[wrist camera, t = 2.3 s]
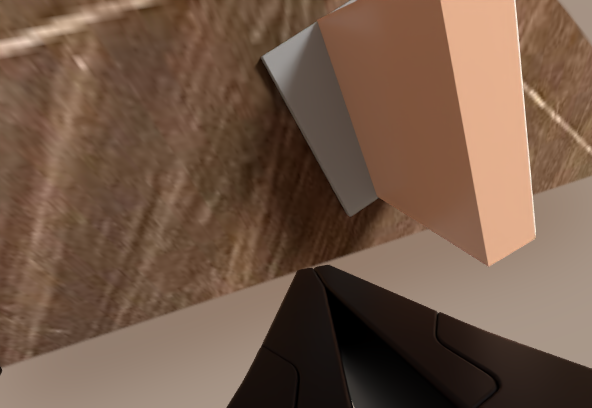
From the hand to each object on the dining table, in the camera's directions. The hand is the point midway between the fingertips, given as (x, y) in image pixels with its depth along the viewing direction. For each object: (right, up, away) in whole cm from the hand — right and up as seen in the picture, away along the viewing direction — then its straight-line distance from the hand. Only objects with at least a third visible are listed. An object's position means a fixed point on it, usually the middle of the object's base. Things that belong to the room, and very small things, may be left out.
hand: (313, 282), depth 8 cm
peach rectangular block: (+4, +7, +11) cm, 14 cm away
